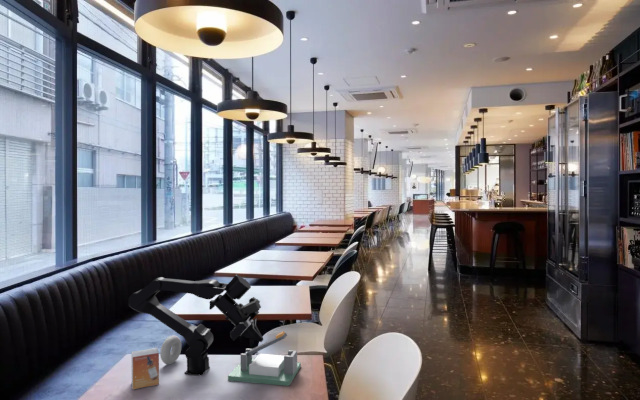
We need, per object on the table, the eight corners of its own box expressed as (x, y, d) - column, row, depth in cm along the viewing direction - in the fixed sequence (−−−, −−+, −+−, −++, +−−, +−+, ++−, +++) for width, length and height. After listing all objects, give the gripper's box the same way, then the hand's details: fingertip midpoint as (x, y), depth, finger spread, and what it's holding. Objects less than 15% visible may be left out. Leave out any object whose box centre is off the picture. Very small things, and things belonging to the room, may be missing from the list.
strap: (243, 358, 141) (241, 353, 141) (247, 355, 144) (244, 350, 144) (284, 338, 138) (282, 333, 138) (287, 335, 141) (284, 330, 141)
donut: (166, 369, 144) (166, 341, 144) (158, 368, 145) (157, 340, 145) (183, 358, 154) (183, 332, 154) (175, 357, 155) (175, 331, 155)
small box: (132, 390, 129) (131, 357, 129) (131, 383, 134) (131, 351, 134) (159, 384, 133) (159, 352, 133) (157, 377, 138) (157, 346, 138)
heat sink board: (227, 380, 136) (227, 357, 136) (245, 362, 150) (245, 341, 150) (288, 385, 131) (288, 362, 131) (300, 366, 146) (300, 345, 146)
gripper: (238, 299, 132) (273, 333, 131) (252, 286, 151) (283, 316, 150) (215, 323, 133) (249, 357, 132) (232, 307, 151) (262, 337, 151)
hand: (262, 340), depth 141 cm, fingers closed
